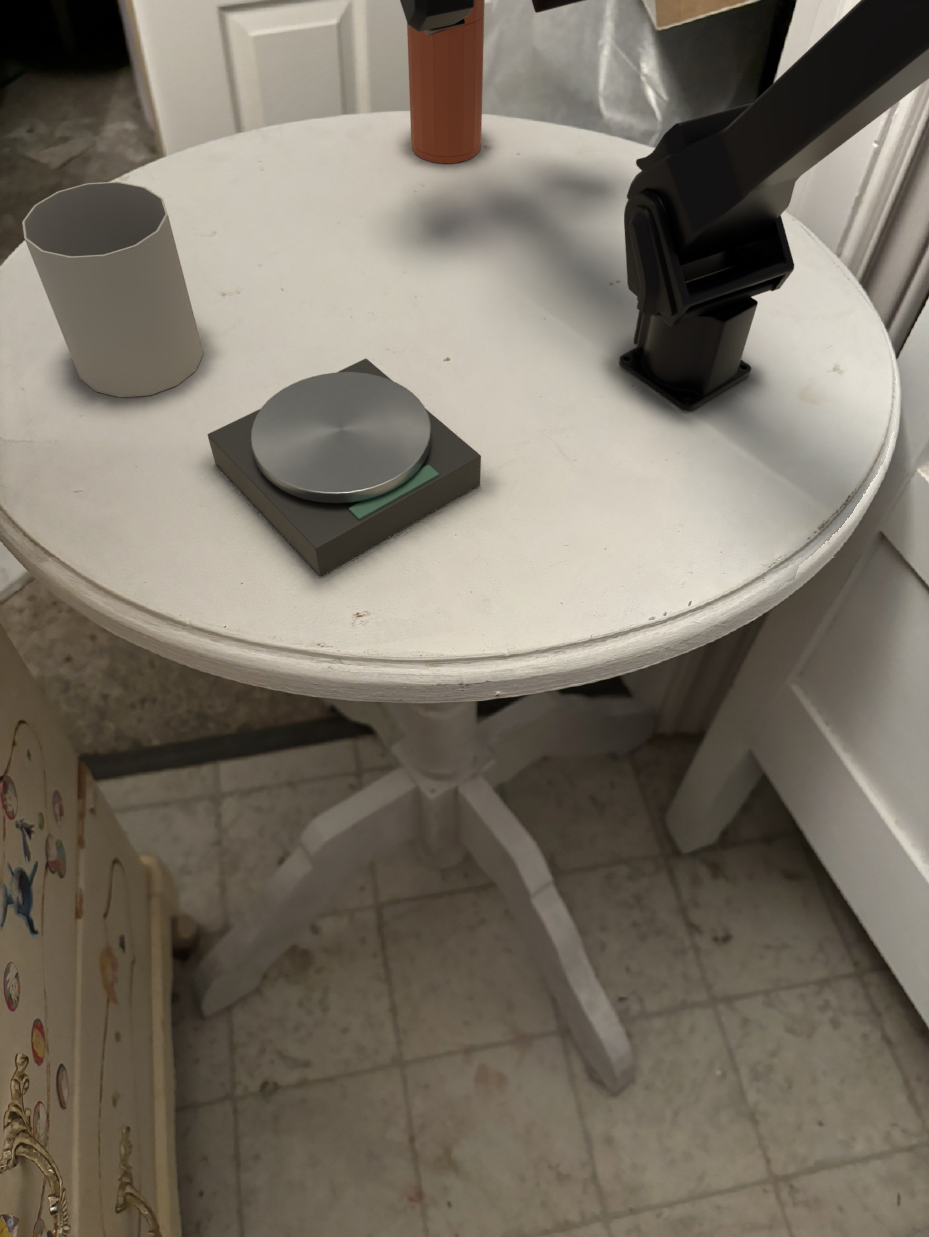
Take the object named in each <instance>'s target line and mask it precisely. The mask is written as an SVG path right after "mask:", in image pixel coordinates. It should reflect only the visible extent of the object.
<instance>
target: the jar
mask: <svg viewBox="0 0 929 1237" xmlns="http://www.w3.org/2000/svg"><path fill="white" fill-rule="evenodd" d="M464 20H465V24H464V25H461V26H458V27H455V28H452V29H449V30H446V31H443V32H440V33H437V34H433V35H430V36H426V34H425V31H420V32H418V31H417V30H415V29H414V28H412V27H411V26H409V25H408V24H407V23H406V32H407V34H406V36H407V56H408V57H407V60H408V61H407V62H408V63H407V64H408V89H409V90H408V91H409V114H410V116H409V117H410V120H409V121H410V140H411V149H412V152H414V154H415V155H416V156H418V158H420V159H421V160H424V161H427V162H432V163H437V164H457V163H462V162H466V161H468V160H470V159H473V158H474V157H475V156H477V155H478V154H479V152H480V150H481V147H482V145H481V144H482V128H483V127H482V126H483V124H482V123H483V122H482V120H483V86H484V85H483V84H484V83H483V82H484V81H483V80H484V47H485V46H484V39H485V0H474V8H473V9H472V11H471V12H470V14H469V15H468V16H467V17H465V18H464Z"/></svg>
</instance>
